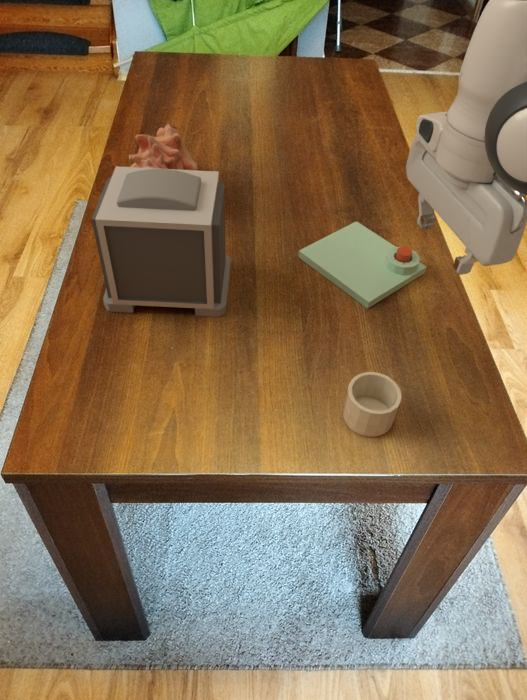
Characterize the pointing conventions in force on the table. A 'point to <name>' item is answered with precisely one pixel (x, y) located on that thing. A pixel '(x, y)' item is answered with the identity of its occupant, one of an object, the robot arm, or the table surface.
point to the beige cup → (371, 404)
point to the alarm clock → (163, 240)
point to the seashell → (163, 151)
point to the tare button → (403, 254)
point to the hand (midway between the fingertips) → (441, 247)
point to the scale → (361, 263)
